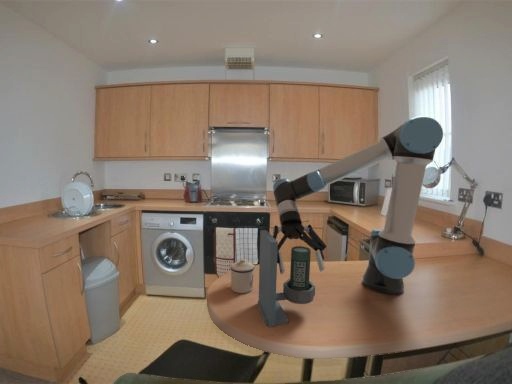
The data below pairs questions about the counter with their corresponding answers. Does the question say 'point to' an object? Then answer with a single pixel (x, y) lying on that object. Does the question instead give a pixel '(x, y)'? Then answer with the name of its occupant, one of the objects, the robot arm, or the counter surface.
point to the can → (300, 268)
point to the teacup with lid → (242, 276)
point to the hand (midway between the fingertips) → (302, 271)
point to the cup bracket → (267, 284)
